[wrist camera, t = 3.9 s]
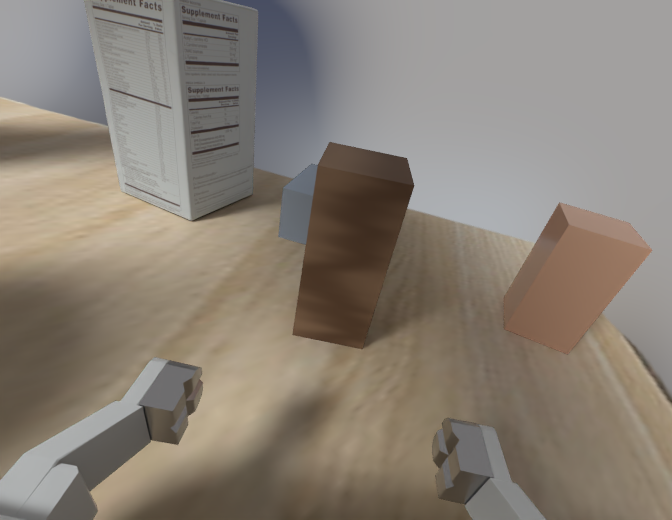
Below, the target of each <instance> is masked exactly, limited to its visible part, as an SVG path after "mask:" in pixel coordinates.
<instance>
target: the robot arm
mask: <svg viewBox="0 0 672 520" xmlns="http://www.w3.org/2000/svg"><path fill="white" fill-rule="evenodd" d="M201 375H202V367H197V366H193V365H188V364H184V363H179V362H175V361H171V360H166V359H161V358H156V357H154V358H153V359H152V360H151V361H149V363H148V364H147V365H146V367H145V368H144V370H143V371H142V372H141V374H140V375H139V376H138V378H137V379H136V380H135V382H134V383H133V385H132V386H131V387H130V389H129V390H128V391H127V393H126V394H125V395H124V397H123V398H122V400H121V401H114V402H112V403H110V404H109V405H107V406H105V407H103V408H102V409H100V410H98V411H97V412H95V413H93V414H91V415H90V416H88V417H86V418H84V419H83V420H81V421H79V422H77V423H76V424H74V425H72V426H71V427H69V428H67V429H65V430H64V431H62V432H60V433H58V434H57V435H55V436H53V437H51V438H50V439H48V440H46V441H44V442H43V443H41V444H39V445H38V446H36V447H34V448H32V449H31V450H29V451H27V452H25V453H24V454H23V455H22V456H21V457H20V458H19V459H18V461H17V462H16V463H15V464H14V465H13V466H12V467H11V468H10V470H9V471H8V472H7V473H6V474H5V475H4V476H3V478H2V479H1V480H0V520H93V518H94V517H95V515H96V513H97V512H98V510H97V505H96V503H95V501H94V499H93V497H92V495H91V493H90V491H91V490H92V489H93V488H95V487H96V486H97V485H98V484H100V483H101V482H102V481H103V480H105V479H106V478H107V477H108V476H109V475H111V474H112V473H113V472H114V471H116V470H117V469H118V468H119V467H121V466H122V465H123V464H124V463H125V462H127V461H128V460H129V459H130V458H132V457H133V456H134V455H135V454H137V453H138V452H139V451H140V450H142V449H143V448H144V447H145V446H146V445H148V444H149V443H150V442H151V440H152V441H158V442H164V443H170V444H175V445H178V444H179V442H180V440H181V438H182V436H183V434H184V432H185V430H186V428H187V426H188V416H189V415H191V414H192V413H194V412H195V410H196V408H197V406H198V404H199V402H200V399H201V396H202V391H203V382H202V381H201V380H200V377H201ZM442 428H443V429H441V430H438V431H437V432H436V434H435V436H434V439H433V444H432V454H433V461H434V462H435V464H436V465H437V467H438V468H439V470H438V472H437V473H436V475H435V477H436V484H437V491H438V498H439V499H443V500H448V501H452V502H456V503H460V504H465V508H466V509H467V511H468V513H469V515H470V516H471V518H472V520H546V519H545V517H544V516H543V515H542V514H541V512H540V511H539V510H538V509H537V507H536V506H535V505H534V504H533V503H532V501H531V500H530V499H529V498H528V496H527V495H526V494H525V493H524V492H523V490H522V489H521V488H520V487H519V485H518V484H517V483H514V482H512V480H511V477H510V474H509V471H508V468H507V464H506V461H505V458H504V455H503V452H502V449H501V445H500V442H499V439H498V436H497V433H496V431H495V429H494V428H493V427H490V426H485V425H480V424H476V423H472V422H467V421H461V420H456V419H451V418H446V419H444V421H443V422H442Z"/></svg>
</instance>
